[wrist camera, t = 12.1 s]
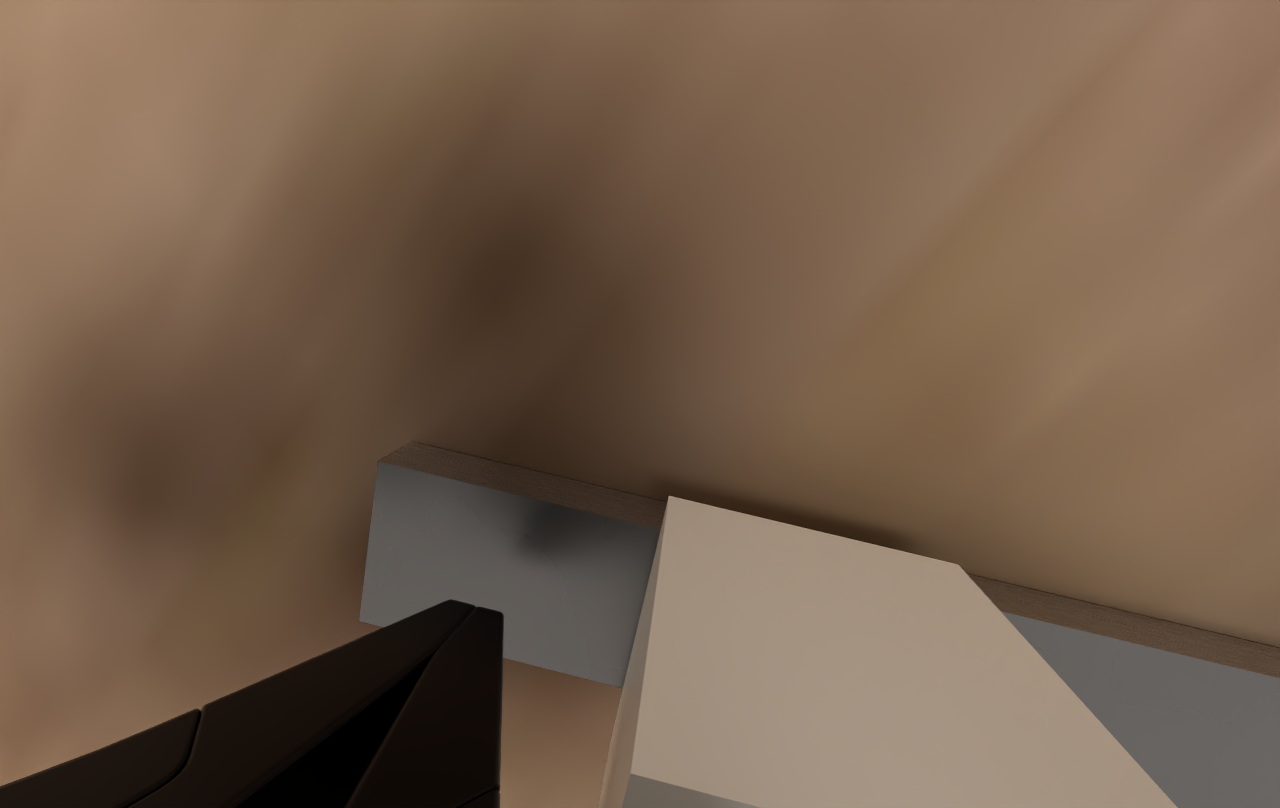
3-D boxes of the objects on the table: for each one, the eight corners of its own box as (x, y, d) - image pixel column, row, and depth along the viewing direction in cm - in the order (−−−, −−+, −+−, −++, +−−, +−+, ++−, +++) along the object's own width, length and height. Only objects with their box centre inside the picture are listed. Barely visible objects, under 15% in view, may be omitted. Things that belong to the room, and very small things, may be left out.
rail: (1558, 714, 10) (1671, 772, 9) (1463, 854, 11) (1559, 927, 9) (412, 441, 11) (378, 460, 10) (392, 586, 12) (358, 620, 10)
